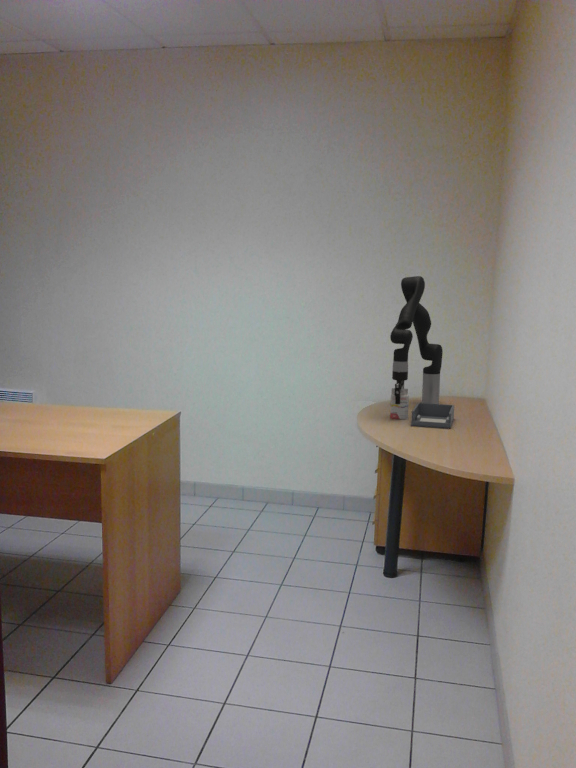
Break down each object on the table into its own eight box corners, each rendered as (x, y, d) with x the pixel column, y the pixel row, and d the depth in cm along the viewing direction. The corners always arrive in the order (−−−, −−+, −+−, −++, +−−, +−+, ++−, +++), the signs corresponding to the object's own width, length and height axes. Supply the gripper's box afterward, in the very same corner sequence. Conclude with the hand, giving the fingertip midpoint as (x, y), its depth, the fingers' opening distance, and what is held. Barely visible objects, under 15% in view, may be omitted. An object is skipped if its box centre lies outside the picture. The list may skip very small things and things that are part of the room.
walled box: (417, 416, 327) (417, 402, 326) (453, 418, 321) (454, 405, 320) (411, 426, 306) (411, 411, 305) (450, 428, 301) (450, 414, 300)
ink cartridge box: (390, 419, 321) (391, 389, 318) (390, 416, 326) (390, 388, 323) (408, 419, 320) (409, 390, 318) (407, 417, 325) (408, 388, 322)
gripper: (395, 367, 327) (393, 399, 329) (390, 371, 313) (389, 404, 316) (410, 368, 324) (408, 400, 327) (405, 372, 311) (404, 405, 314)
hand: (399, 402), depth 322 cm, fingers open, 8 cm apart
